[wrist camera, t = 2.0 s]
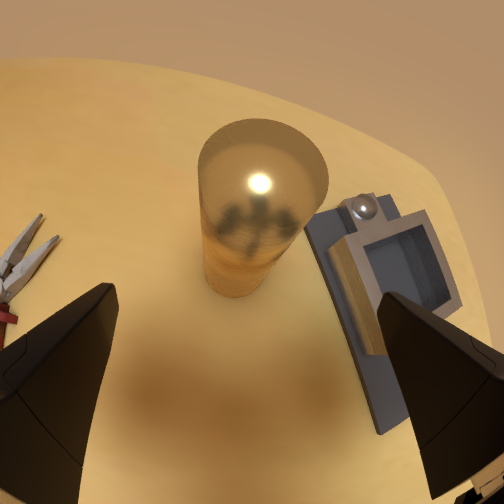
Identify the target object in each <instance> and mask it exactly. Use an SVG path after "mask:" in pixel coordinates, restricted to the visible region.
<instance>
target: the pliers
mask: <svg viewBox="0 0 504 504" xmlns="http://www.w3.org/2000/svg"><path fill="white" fill-rule="evenodd" d="M42 216H43V215H42V214H41V213H40V214H39V215H38V216H37V217H36V218H35V219H34V220H33V221H32V222H31V223H30V224H29V226H28V227H27V228H26V229H25V230H24V231H23V232H22V233H21V234H20V235H19V236H18V237H17V239H16V240H15V241H14V242H13V243H12V244H11V245H10V247H9V248H8V249H7V250H6V251H5V252H4V254H3V255H2V257H1V258H0V351H1V350H2V347H3V339H4V332H5V325H6V322H7V323H12V324H17V319H18V316H15V315H13V314H11V313H9V307H10V306H8V305H6V303H8V302H9V301H10V300H11V299H12V298H13V297H14V296H15V295H16V294H17V293H18V292H19V291H20V290H21V289H22V288H23V286H24V285H25V284H26V283H27V282H28V280H29V279H30V277H31V276H32V274H33V273H34V272H35V270H36V269H37V267H38V266H39V264H40V263H41V262H42V260H43V259H44V257H45V256H46V255H47V253H48V252H49V251H50V249H51V248H52V247H53V245H54V244H55V243H56V241H57V240H58V239H59V236H58V235H56V236H55V237H53V238H52V239H50V240H49V241H47V242H46V243H45V244H43V245H42V246H40V247H39V248H38V249H36V250H35V251H33V252H32V253H31V254H29V255H28V256H27V257H25V258H24V259H23V260H22V261H21V259H22V257H23V256H24V254H25V251H26V249H27V247H28V245H29V243H30V241H31V238H32V236H33V234H34V232H35V230H36V228H37V226H38V224H39V222H40V220H41V218H42ZM13 266H15V267H14V268H13V269H12V271H13V272H12V273H11V274H10V275H9V271H10V269H11V268H12V267H13Z"/></svg>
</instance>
